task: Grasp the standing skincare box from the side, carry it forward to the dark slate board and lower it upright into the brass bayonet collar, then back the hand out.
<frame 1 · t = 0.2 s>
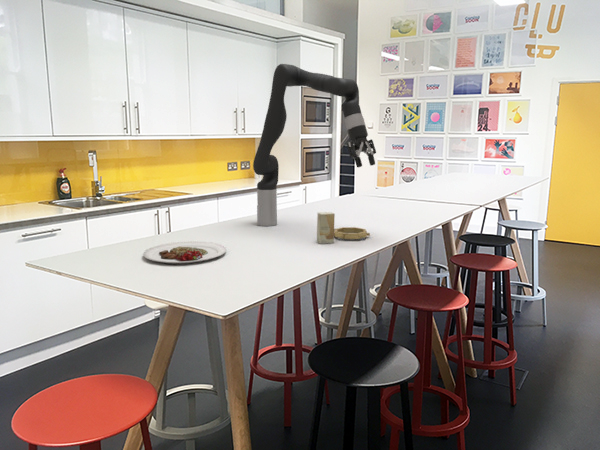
hand: (366, 166, 203), 31 cm above the table, tool tilted 20°, fingers open, 8 cm apart
skincare box: (325, 242, 206), on the table
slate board: (350, 237, 215), resting in brass collar
brass collar: (350, 233, 215), on the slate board, point 1 cm above the table
plated food: (185, 256, 188), on the table
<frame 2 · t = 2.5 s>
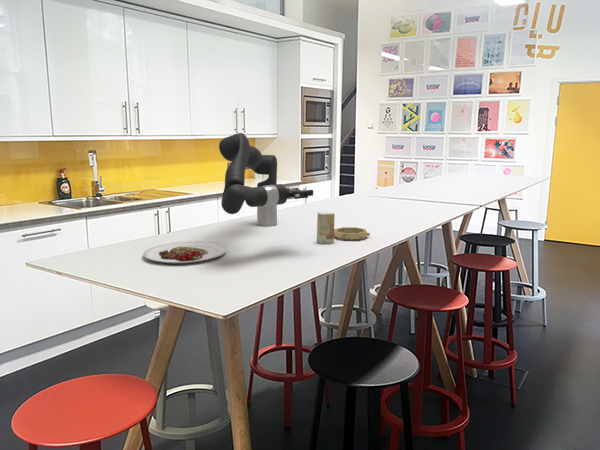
hand: (305, 191, 195), 22 cm above the table, tool horizontal, fingers open, 8 cm apart
nothing on the table moved.
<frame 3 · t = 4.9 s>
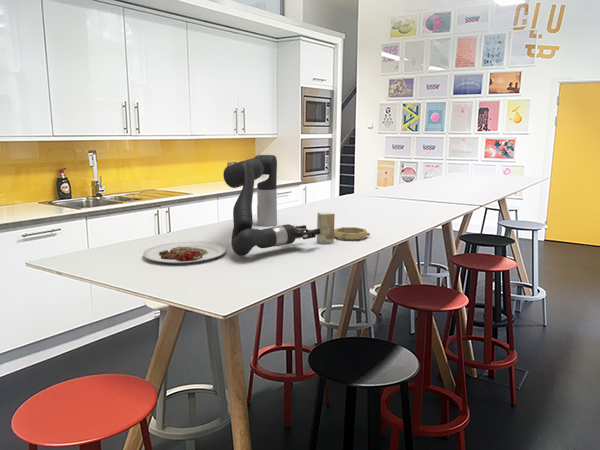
hand: (312, 229, 201), 6 cm above the table, tool horizontal, fingers open, 8 cm apart
nothing on the table moved.
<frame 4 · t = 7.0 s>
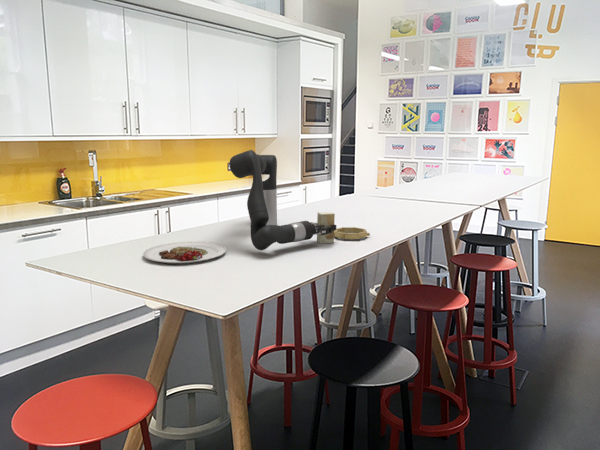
hand: (329, 225, 207), 7 cm above the table, tool horizontal, fingers closed on skincare box, 6 cm apart
skincare box: (325, 242, 206), on the table, touching gripper
everything else where it was.
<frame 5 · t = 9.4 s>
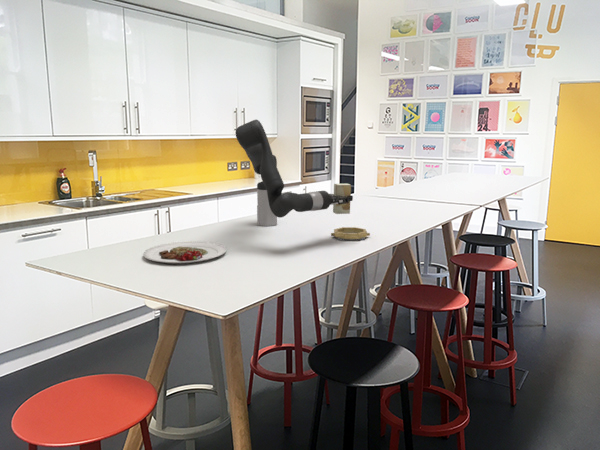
hand: (346, 197, 210), 18 cm above the table, tool horizontal, fingers closed on skincare box, 6 cm apart
skincare box: (341, 213, 210), point 11 cm above the table, touching gripper
everything else where it was.
when the fingers open (9 cm above the table, at t = 12.1 s): skincare box drops 1 cm, resting on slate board.
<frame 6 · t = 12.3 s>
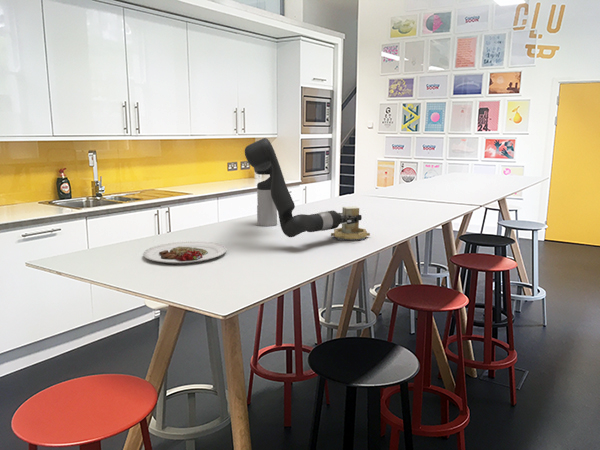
hand: (353, 216, 215), 9 cm above the table, tool horizontal, fingers open, 7 cm apart
skincare box: (350, 236, 215), point 1 cm above the table, touching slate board
everything else where it was.
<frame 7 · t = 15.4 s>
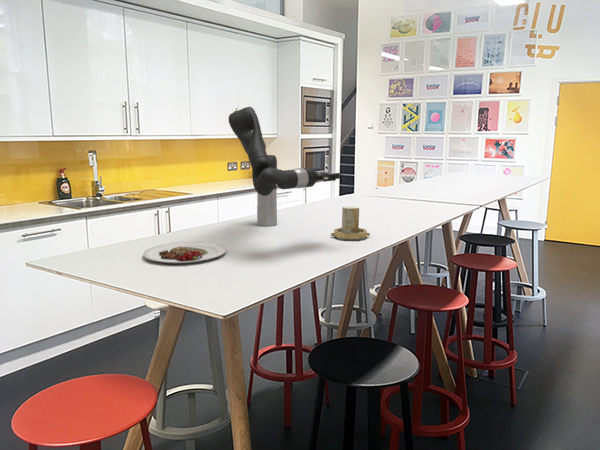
hand: (332, 174, 203), 27 cm above the table, tool horizontal, fingers open, 8 cm apart
nothing on the table moved.
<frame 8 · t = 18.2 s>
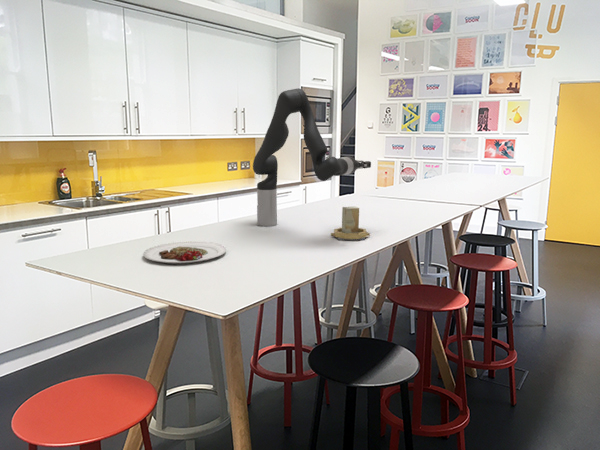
hand: (360, 163, 228), 30 cm above the table, tool horizontal, fingers open, 8 cm apart
nothing on the table moved.
at the end: skincare box 0.2 cm from the brass collar (horizontally); skincare box tilted 0°; the gripper is holding nothing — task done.
